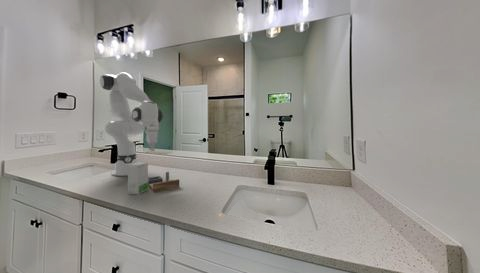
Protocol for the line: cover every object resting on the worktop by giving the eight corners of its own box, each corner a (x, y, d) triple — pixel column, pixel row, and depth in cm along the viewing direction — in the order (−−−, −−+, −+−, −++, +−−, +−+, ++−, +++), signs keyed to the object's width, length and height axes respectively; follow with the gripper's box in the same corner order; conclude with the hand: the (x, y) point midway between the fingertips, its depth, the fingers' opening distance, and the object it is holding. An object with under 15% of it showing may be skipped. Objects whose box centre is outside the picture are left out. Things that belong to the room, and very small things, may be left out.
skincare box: (137, 194, 93) (137, 165, 92) (127, 193, 94) (126, 164, 93) (149, 189, 101) (148, 162, 100) (139, 188, 102) (138, 161, 101)
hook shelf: (148, 186, 105) (148, 172, 105) (172, 181, 114) (172, 168, 114) (153, 192, 96) (153, 177, 95) (179, 187, 105) (179, 172, 104)
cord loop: (145, 183, 111) (145, 178, 110) (160, 180, 116) (159, 176, 116) (147, 186, 106) (147, 180, 106) (162, 183, 111) (162, 178, 111)
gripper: (143, 127, 115) (144, 149, 116) (146, 127, 98) (147, 152, 99) (154, 127, 119) (154, 148, 119) (159, 127, 101) (160, 151, 102)
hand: (151, 150), depth 109 cm, fingers open, 8 cm apart
